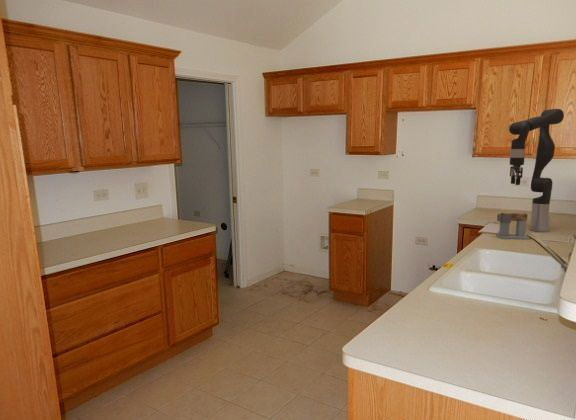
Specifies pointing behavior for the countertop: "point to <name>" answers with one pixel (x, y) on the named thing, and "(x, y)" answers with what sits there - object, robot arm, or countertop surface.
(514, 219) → the rail
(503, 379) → the countertop surface
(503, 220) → the bracket stand
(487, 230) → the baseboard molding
